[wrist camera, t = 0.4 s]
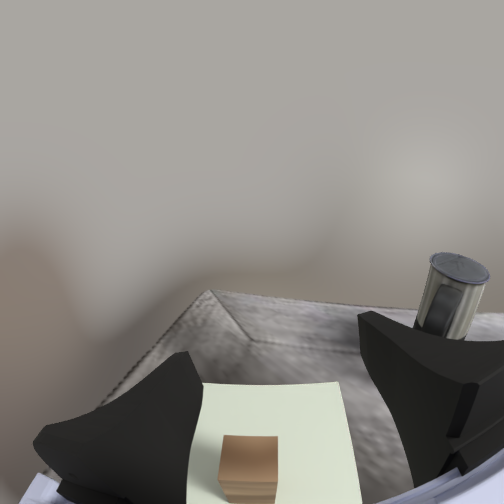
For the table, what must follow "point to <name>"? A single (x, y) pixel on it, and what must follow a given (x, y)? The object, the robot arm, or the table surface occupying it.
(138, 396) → the robot arm
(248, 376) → the table surface
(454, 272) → the milk frother
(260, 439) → the walnut block
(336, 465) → the sage mat
